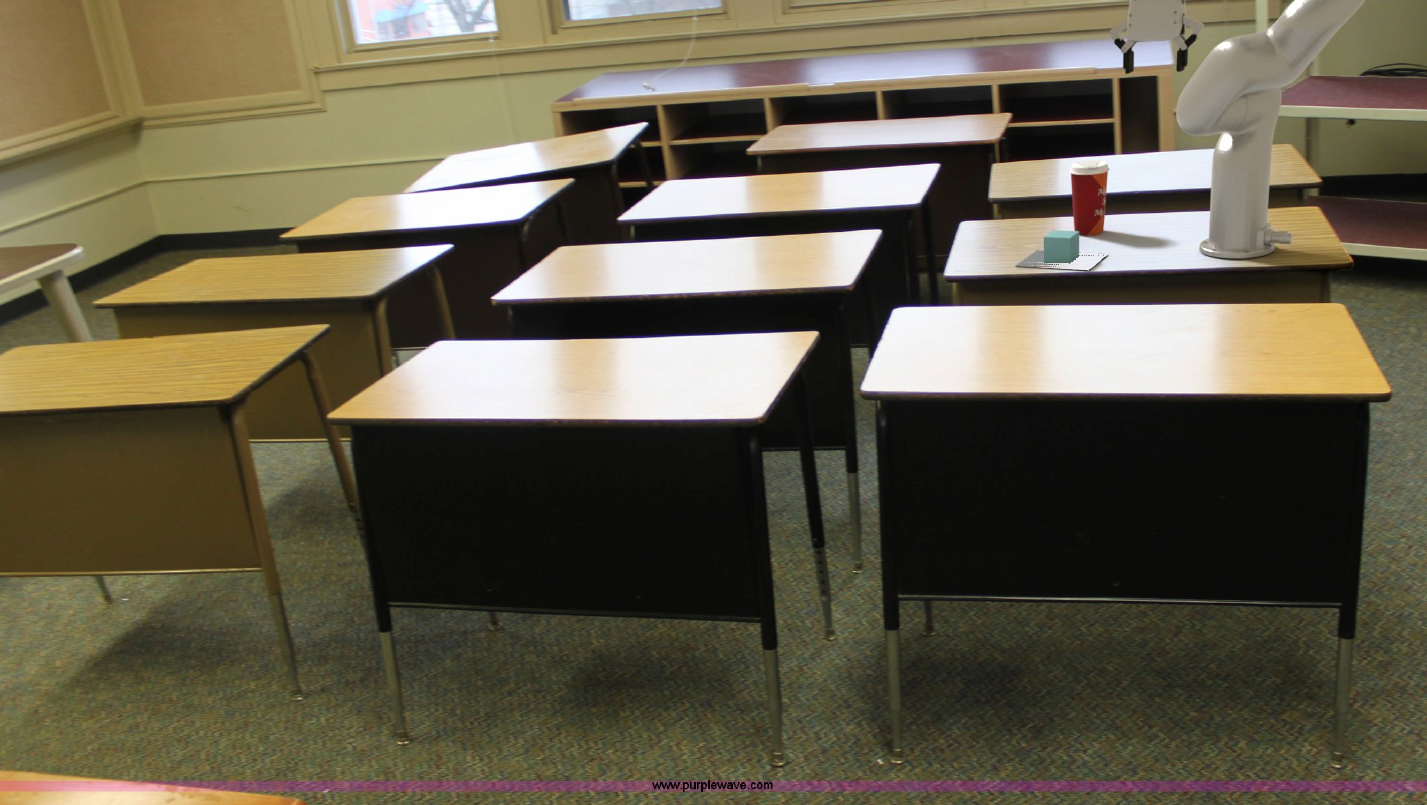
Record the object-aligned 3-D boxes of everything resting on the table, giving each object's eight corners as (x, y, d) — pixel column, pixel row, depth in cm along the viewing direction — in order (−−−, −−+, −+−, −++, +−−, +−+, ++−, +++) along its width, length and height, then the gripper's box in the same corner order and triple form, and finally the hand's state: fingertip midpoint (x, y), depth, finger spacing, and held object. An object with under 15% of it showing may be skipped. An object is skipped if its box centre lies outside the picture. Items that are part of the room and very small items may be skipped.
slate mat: (1108, 255, 215) (1108, 254, 215) (1088, 271, 207) (1088, 270, 207) (1036, 251, 223) (1036, 250, 223) (1015, 266, 215) (1015, 265, 215)
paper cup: (1111, 235, 227) (1111, 166, 222) (1071, 238, 229) (1071, 169, 223) (1106, 226, 234) (1107, 158, 229) (1067, 228, 236) (1067, 161, 230)
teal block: (1079, 256, 215) (1079, 231, 213) (1069, 264, 211) (1069, 238, 210) (1053, 255, 218) (1053, 230, 216) (1043, 262, 214) (1043, 236, 213)
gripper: (1210, -28, 211) (1206, 67, 218) (1117, -20, 221) (1115, 70, 228) (1200, -24, 206) (1196, 73, 212) (1104, -16, 216) (1103, 76, 222)
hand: (1154, 71), depth 220 cm, fingers open, 9 cm apart
